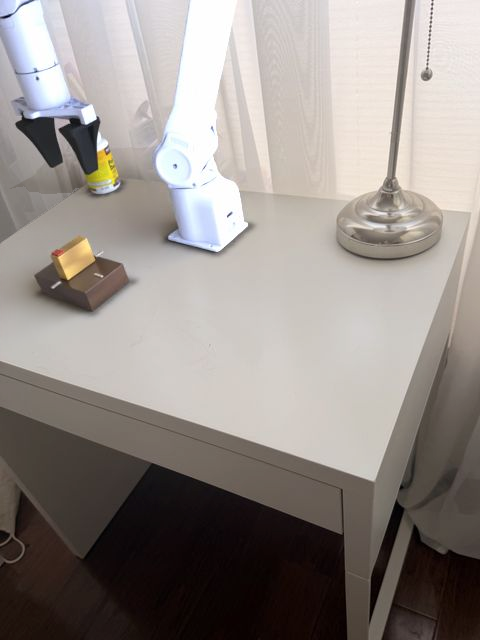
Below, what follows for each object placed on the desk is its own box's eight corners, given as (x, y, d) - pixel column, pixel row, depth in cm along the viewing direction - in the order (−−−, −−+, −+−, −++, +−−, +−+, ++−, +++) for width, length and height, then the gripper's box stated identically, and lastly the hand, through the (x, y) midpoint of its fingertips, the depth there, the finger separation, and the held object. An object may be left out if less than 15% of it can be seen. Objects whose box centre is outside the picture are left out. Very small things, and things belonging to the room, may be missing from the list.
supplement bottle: (122, 191, 96) (103, 133, 89) (90, 198, 95) (69, 140, 88) (120, 178, 100) (102, 122, 93) (90, 185, 99) (70, 129, 92)
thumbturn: (87, 258, 74) (78, 234, 71) (95, 260, 73) (86, 236, 71) (59, 277, 71) (48, 253, 69) (68, 280, 70) (57, 256, 68)
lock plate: (134, 277, 75) (128, 258, 72) (86, 316, 69) (78, 296, 67) (85, 262, 79) (77, 243, 77) (36, 297, 74) (26, 278, 72)
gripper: (-23, 74, 71) (20, 173, 80) (49, 80, 64) (88, 187, 73) (19, 57, 75) (56, 153, 84) (92, 61, 68) (124, 165, 77)
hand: (74, 168), depth 79 cm, fingers open, 7 cm apart
